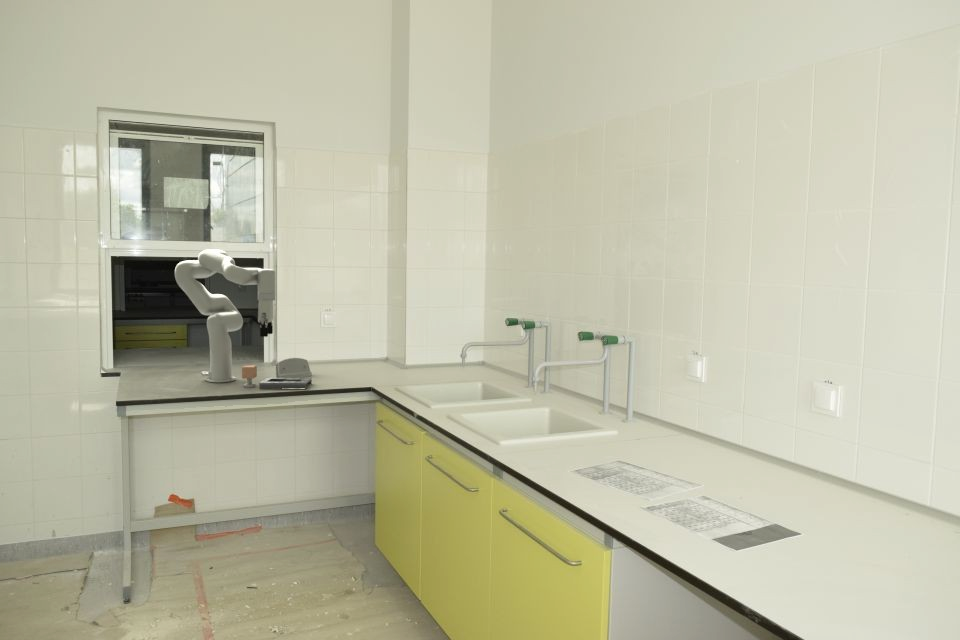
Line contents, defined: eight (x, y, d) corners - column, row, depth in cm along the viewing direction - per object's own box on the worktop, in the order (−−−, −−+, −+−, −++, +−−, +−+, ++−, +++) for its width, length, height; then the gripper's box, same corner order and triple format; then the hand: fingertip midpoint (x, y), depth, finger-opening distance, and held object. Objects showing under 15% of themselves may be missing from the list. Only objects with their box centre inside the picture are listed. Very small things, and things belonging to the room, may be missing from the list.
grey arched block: (279, 379, 338) (276, 358, 340) (276, 381, 342) (273, 360, 344) (312, 375, 348) (309, 355, 350) (309, 377, 352) (305, 357, 354)
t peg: (242, 387, 318) (241, 367, 317) (245, 385, 322) (245, 365, 322) (253, 387, 318) (253, 367, 317) (257, 385, 323) (256, 365, 322)
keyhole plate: (259, 389, 314) (259, 382, 313) (267, 383, 327) (267, 377, 326) (305, 389, 314) (305, 383, 314) (311, 383, 327) (311, 377, 327)
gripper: (262, 295, 328) (262, 332, 330) (253, 298, 311) (253, 337, 313) (279, 295, 329) (279, 333, 331) (270, 298, 312) (270, 337, 313)
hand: (266, 335), depth 322 cm, fingers open, 9 cm apart
